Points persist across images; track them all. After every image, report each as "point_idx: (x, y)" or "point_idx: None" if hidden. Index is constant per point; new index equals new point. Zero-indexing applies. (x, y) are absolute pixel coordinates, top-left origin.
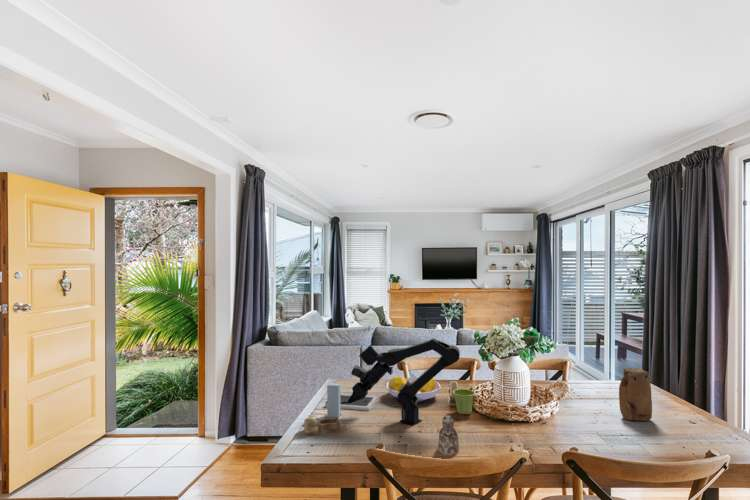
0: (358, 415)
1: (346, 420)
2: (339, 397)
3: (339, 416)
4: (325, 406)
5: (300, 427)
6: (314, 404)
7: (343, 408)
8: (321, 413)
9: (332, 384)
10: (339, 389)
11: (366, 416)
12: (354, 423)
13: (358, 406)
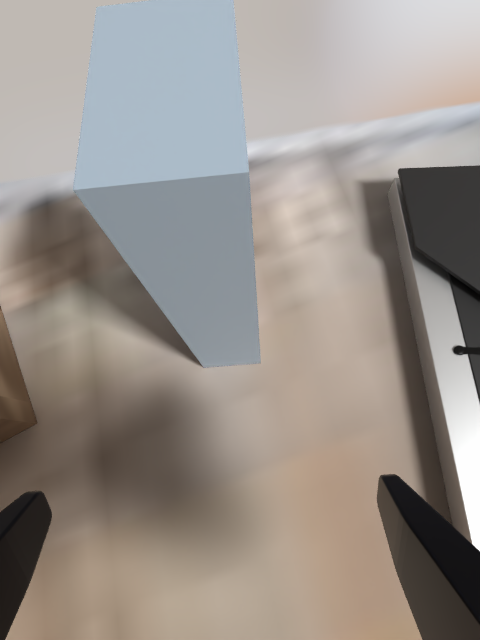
0: (302, 527)
1: (161, 452)
2: (206, 305)
3: (226, 364)
4: (389, 191)
5: (10, 202)
6: (410, 114)
7: (414, 329)
8: (261, 218)
9: (152, 60)
10: (190, 246)
11: (299, 630)
12: (103, 554)
13: (469, 476)
